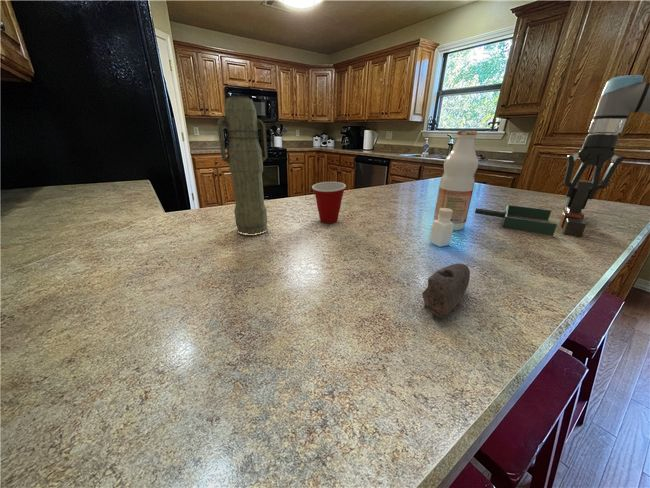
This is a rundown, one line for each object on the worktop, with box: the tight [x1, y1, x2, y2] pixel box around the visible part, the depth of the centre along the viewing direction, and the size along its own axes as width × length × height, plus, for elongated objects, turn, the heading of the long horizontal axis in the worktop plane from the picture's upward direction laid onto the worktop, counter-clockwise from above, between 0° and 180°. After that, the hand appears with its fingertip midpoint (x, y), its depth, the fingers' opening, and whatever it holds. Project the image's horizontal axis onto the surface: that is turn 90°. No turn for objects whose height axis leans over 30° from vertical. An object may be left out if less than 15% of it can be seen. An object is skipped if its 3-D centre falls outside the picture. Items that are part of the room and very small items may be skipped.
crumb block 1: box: [558, 213, 582, 229], centre depth 85 cm, size 4×4×4 cm
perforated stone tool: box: [421, 263, 471, 319], centre depth 46 cm, size 15×5×7 cm, turn 135°
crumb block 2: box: [561, 218, 587, 238], centre depth 79 cm, size 4×4×4 cm
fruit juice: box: [432, 130, 479, 231], centre depth 80 cm, size 9×9×28 cm
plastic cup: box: [311, 181, 347, 224], centre depth 86 cm, size 11×11×12 cm
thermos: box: [216, 95, 269, 237], centre depth 72 cm, size 9×12×35 cm
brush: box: [561, 179, 592, 220], centre depth 92 cm, size 4×12×13 cm, turn 146°
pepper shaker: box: [429, 208, 454, 248], centre depth 70 cm, size 4×4×10 cm
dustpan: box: [474, 204, 558, 236], centre depth 90 cm, size 22×18×4 cm
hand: (574, 207), depth 93 cm, fingers closed on brush, 3 cm apart
